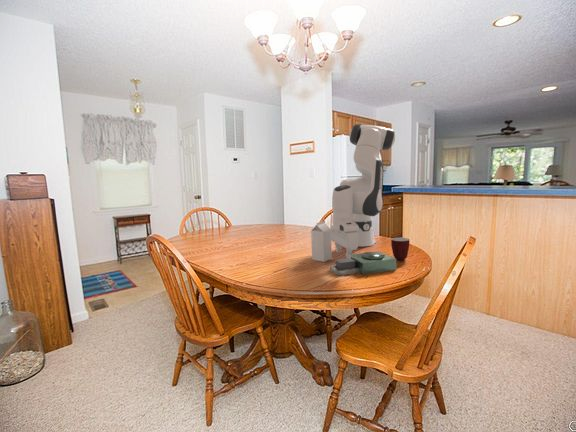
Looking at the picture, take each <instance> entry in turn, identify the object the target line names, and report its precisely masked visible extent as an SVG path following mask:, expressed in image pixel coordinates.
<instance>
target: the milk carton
mask: <svg viewBox="0 0 576 432" xmlns="http://www.w3.org/2000/svg"><path fill="white" fill-rule="evenodd" d="M310 232H311V233H310V234H311V239H310V240H311V260H312V261H316V262H322V263H325V262H327V261H330V260H331V259H332V258H333V257H332V251H333V250H332V240H331V227H329V226H328V225H327V223H326V221H325V220H322V221H319V222H316V224H315V225H314V227H313V228H312V229H311V230H310Z"/></svg>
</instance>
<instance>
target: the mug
mask: <svg viewBox="0 0 576 432" xmlns="http://www.w3.org/2000/svg"><path fill="white" fill-rule="evenodd" d="M390 242H391V251H392V254H393V258H396V261H399V262H402V261H405V260H406V258H407V256H408V255H409V251H410V250H409V248H410V239H409V238H407V237H392V238H391V240H390Z"/></svg>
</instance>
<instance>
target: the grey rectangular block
mask: <svg viewBox="0 0 576 432" xmlns="http://www.w3.org/2000/svg"><path fill="white" fill-rule="evenodd" d="M334 265H336V269H338V270H345V269H352V268H355V261H354V260H353V259H351V258H350V259H347V258H346V257H345V258H341V259H340V258H338V259H335V264H334Z"/></svg>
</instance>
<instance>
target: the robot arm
mask: <svg viewBox="0 0 576 432" xmlns="http://www.w3.org/2000/svg"><path fill="white" fill-rule="evenodd" d="M395 133H396V132H395V131H394V129H392V128H386V127H384V126H379V125H371V124H362V123H356V124H354V125H353V126H352V127H351V129H350V131H349V142H350V144H352V145H354V146H355V149H354V153H353V161H354V164H355V169H356V171H358V173H360V174H361V176H360V177H351V178H345V179H343V180H341V182H340V184H339V185H338V186H335V187H334V188H333V192H332V198H331V207H332V208H331V209H332V215H331V216H332V225H331V227H330V229H331V242H334V246H335V249H336V250H335V251H336V253H338V254H341V253H342V248H341V247H343V248H345V251H346V253H345V259H346V258H347V259H350V258H351V254H353V251H356V250H358V248H360V247H363V248H364V247H371V246H374V245H375V243H377V241H376V240H375V233H374V229H373V228H372V226H373V223H372V221H373V220H372V217H375V216H377V215H378V214H380V213H381V212H382V210H383V205H384V202H383V200H384V199H383V186H384V163H383V161H382V160H381V159H380V158H379V157H380V152H381V151H388V150H390V149H391V148H392V147H393V146H394V144H395V142H396V135H395ZM380 150H381V151H380Z"/></svg>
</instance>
